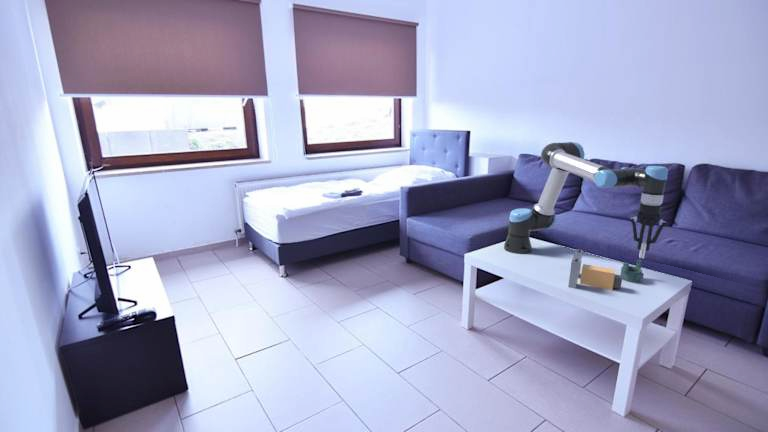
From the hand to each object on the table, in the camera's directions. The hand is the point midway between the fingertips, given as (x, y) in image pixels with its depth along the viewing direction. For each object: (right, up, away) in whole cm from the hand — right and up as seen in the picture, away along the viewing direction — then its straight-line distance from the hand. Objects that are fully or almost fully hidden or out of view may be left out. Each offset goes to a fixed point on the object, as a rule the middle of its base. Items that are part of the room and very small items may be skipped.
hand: (641, 257), depth 166 cm
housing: (-21, -13, +16) cm, 29 cm away
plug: (-12, -14, +11) cm, 22 cm away
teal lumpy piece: (+6, -13, +17) cm, 23 cm away
